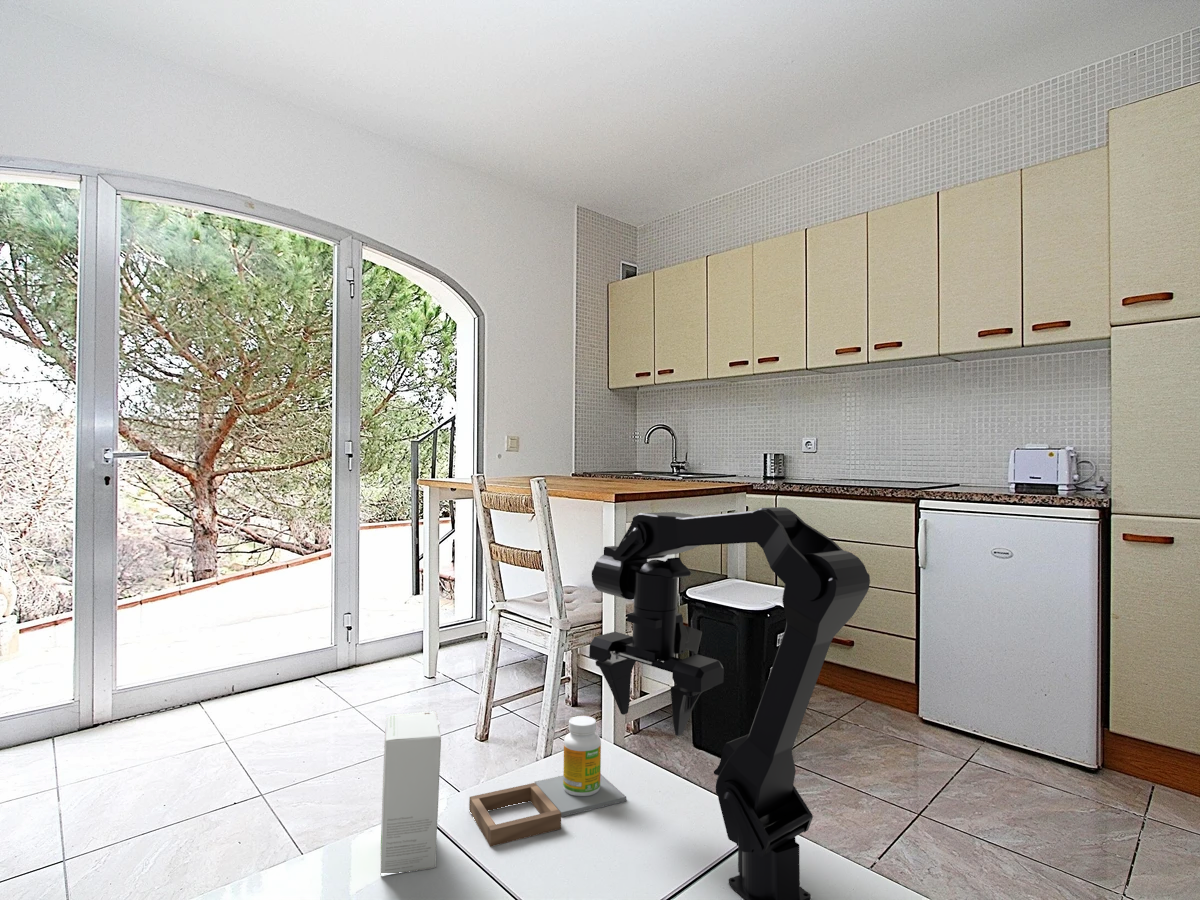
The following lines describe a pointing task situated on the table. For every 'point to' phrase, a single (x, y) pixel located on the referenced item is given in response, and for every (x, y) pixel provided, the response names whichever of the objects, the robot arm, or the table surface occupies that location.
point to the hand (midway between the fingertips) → (650, 723)
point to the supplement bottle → (582, 757)
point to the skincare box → (410, 792)
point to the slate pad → (579, 803)
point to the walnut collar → (520, 827)
